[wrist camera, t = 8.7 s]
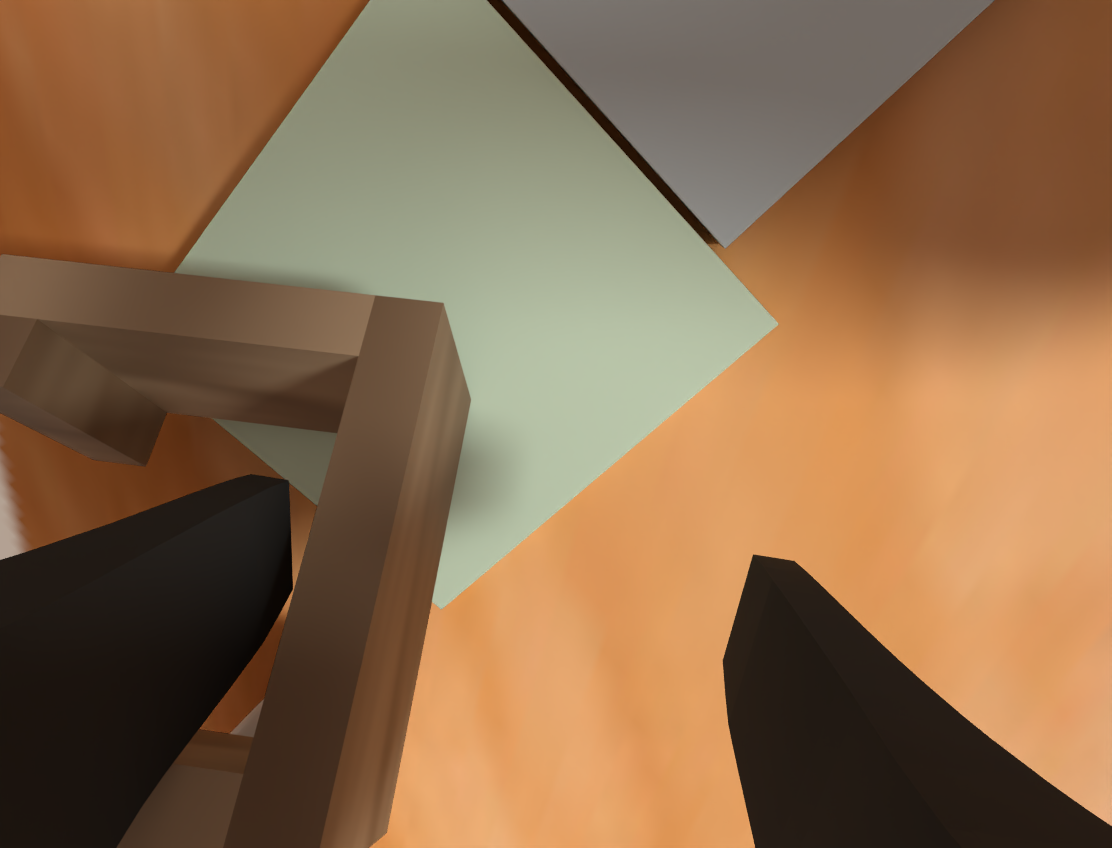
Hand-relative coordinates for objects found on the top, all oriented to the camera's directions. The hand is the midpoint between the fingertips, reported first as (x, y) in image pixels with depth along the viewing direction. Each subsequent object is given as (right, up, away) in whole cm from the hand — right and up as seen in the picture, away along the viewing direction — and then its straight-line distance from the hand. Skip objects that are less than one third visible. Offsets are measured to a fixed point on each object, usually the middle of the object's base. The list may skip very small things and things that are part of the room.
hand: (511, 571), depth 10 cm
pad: (-2, +5, +5) cm, 7 cm away
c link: (-6, -1, +3) cm, 7 cm away
